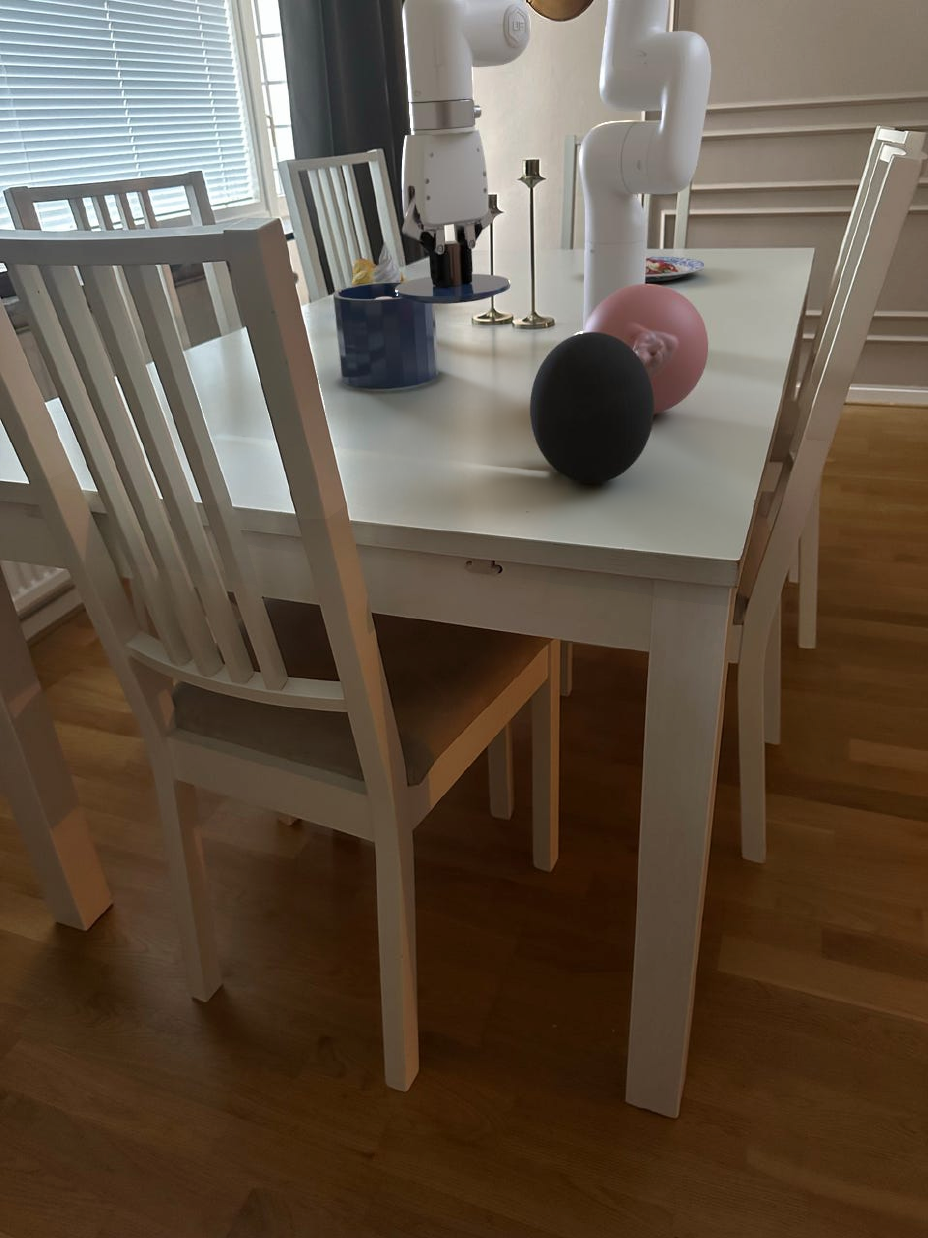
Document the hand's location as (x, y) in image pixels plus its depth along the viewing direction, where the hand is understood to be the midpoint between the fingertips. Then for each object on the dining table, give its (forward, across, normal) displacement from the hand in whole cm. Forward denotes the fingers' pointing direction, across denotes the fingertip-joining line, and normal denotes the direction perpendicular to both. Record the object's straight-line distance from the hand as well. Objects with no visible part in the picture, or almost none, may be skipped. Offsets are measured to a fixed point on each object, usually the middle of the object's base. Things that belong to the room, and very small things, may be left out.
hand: (452, 282), depth 117 cm
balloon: (+15, -12, +22) cm, 29 cm away
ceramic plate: (+17, -86, -52) cm, 102 cm away
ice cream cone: (+16, -17, -46) cm, 51 cm away
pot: (+15, +1, -16) cm, 22 cm away
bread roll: (+16, -30, -72) cm, 80 cm away
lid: (+1, 0, 0) cm, 1 cm away
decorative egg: (+15, +7, +34) cm, 38 cm away
